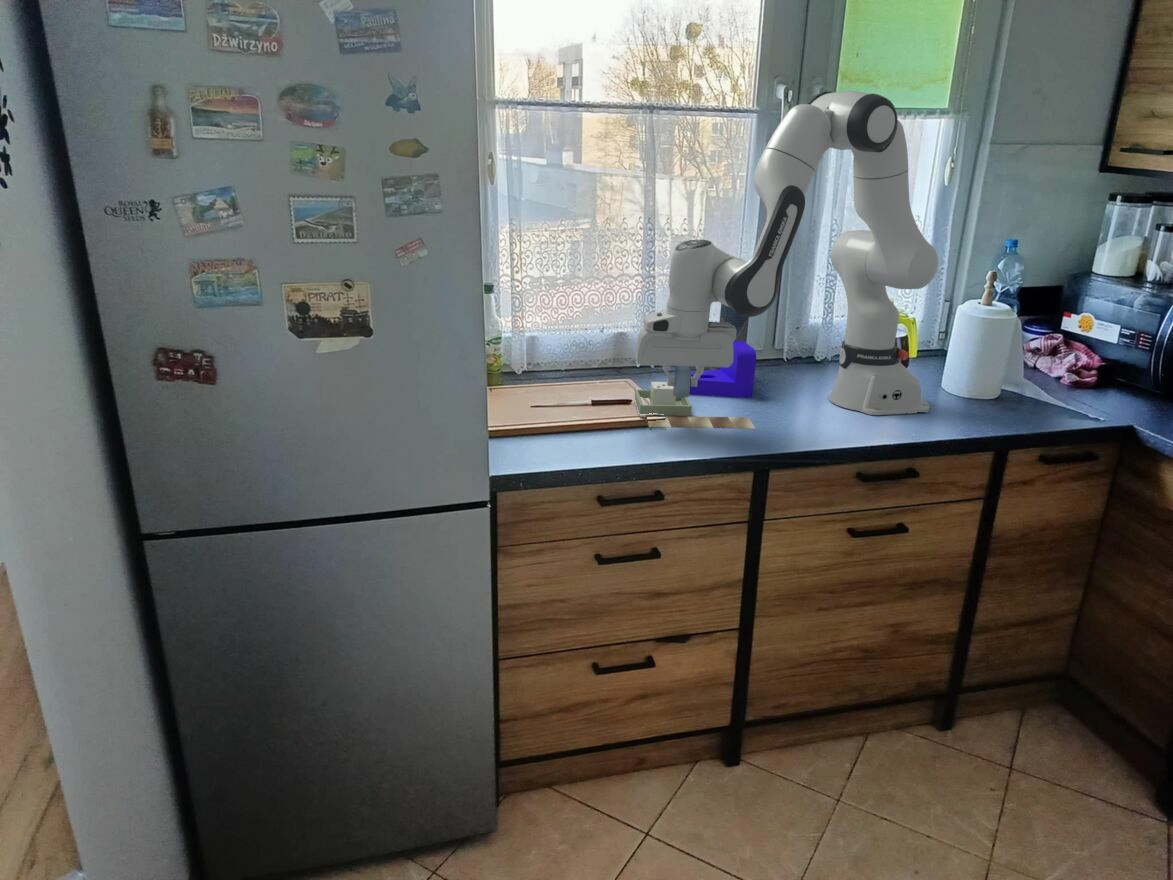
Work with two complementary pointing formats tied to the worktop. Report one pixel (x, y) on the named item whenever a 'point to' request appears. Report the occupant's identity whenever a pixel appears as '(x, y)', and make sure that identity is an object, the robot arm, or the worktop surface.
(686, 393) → the pawn
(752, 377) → the bracket
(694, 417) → the track
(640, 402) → the dice tray
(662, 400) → the die
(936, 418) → the worktop surface
